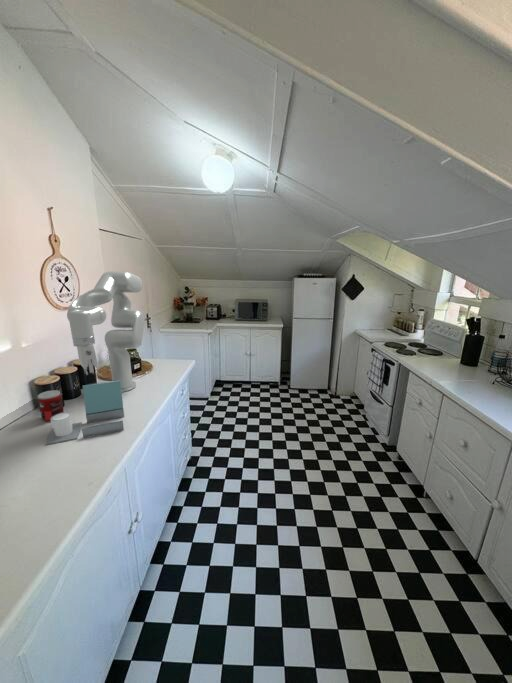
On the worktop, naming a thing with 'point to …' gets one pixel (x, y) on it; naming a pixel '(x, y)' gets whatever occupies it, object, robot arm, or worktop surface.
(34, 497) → the worktop surface
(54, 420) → the shot glass
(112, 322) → the robot arm
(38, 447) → the worktop surface
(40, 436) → the worktop surface
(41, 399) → the canned food
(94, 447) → the worktop surface
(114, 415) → the grey flat bars
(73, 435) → the mat
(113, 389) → the panel
